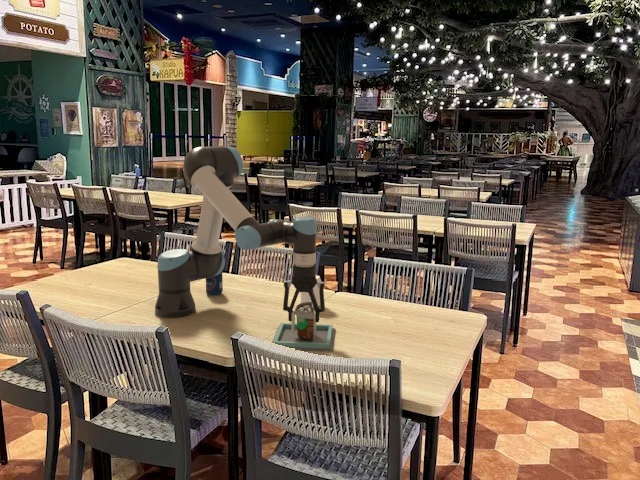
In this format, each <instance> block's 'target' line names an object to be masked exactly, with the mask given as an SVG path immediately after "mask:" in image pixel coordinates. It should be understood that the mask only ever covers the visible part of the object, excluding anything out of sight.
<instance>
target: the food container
mask: <svg viewBox="0 0 640 480" xmlns="http://www.w3.org/2000/svg"><path fill="white" fill-rule="evenodd" d="M294 311H295V316H296V323H297V334H298V337H299V338H301V339H304V340H313V329H314V308H312V302H304V303H301V302H300V303H299V304H297V305H296V306H295V309H294Z"/></svg>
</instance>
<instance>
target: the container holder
mask: <svg viewBox="0 0 640 480" xmlns="http://www.w3.org/2000/svg"><path fill="white" fill-rule="evenodd" d="M333 325H334V324H325V323H324V324H323V323H322V324H319V323H316V332H315V333H313V340H304V339H301V338H299V337H298V334H297V322H295V330H294V332H292V322H280V323H279V325H278V327H277V329H276V331H275V334H274V336H273V338H272V342H271V343H275V344H278V345H282V346H285V347H289V348H295V349H301V350H300V351H308V350H313V351H315V352H333V345H334V337H335V332H336V328H335V327H333ZM313 351H312V352H313Z"/></svg>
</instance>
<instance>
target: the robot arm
mask: <svg viewBox="0 0 640 480" xmlns="http://www.w3.org/2000/svg"><path fill="white" fill-rule="evenodd" d="M243 161H244V160H243V158H242V155H241V153H240V152H239V150H238V149H236V148H235V147H233V146H225V145H221V146H220V145H218V146H214V145H213V146H198V147H194V148H193V149H191V150H190V151H188V153H186V155H185V157H184V159H183V165H182V169H183V174H184V175H185V176H184V177H185V178H186V179H187V182H189V184H190V185H191V186H192V187H193V188H194V189H199V191H200V192H201V193H202V194H203V197H202V203H201V210H200V214H199V215H200V216H199V221H198V226H197V227H198V228H197V233H196V239H195V240H194V241H193V242H192V243H191V245H190V251H189V250H188V249H184V248H177V249H169V250H166V251H163V252H161V253H160V254H159V255H158V257H157V266H156V268H157V276H158V277H157V278H158V279H157V281H158V294H157V299H156V302H155V305H154V312H155V315H156V316H159V317H162V318H181V317H185V316H190V315H192V314H193V313H195V312H196V302H195V299H194V297H193V295H192V293H191V282H195V281H199V280H204V279H205V280H206V278H211V277H213V276H216V275H218V274H220V273H221V272H222V273H223V270H224V268H225V266H226V265H225V264H226V258H225V253H224V251H223V250H222V247H221V245H220V244H219V242H220V237H221V231H222V226H223V225H222V224H223V219H224V220H225V221H226V222H227V223H228V224H229V226H230V227H231V228H232V229H233V230H234V232H235V233H234V234H235V235H234V239H235V241H236V245H237V246H238V248H239V249H241V250H244V251H247V250H257V249H259V248H263V247H268V246H273V245H279V244H287V245H291V246H292V263H293V265H292V279H291V280H290V279H289V280H284V282H283V287H284V294H283V295H284V296H283V305H282V310H283V311H285V312H287V313H288V319H287V320H288V322H291V323H292V332H294V330H295V323H296V317H295V316H296V315H295V310H293V309H294V307H295V305H296V301H297V299H298V295H299V294H300V293H301V292H308V293H309V295H310V298H311V301H312V304H313V307H314V308H313V313H314V329H313V333H315V332H316V324H317V323H319V322H320V314H321V313H324V312H325V309H326V307H325V306H326V305H325V294H324V288H325V284H326V283H325V281H321V282H319V281H317V279H316V275H317V274H316V273H317V266H316V264H317V233H318V230H317V221H316V219H315V218H313V217H310V216H308V217H306V216H299V217H295V218H293V221H290V220H284V219H281V218H279V219H276V218H274V219H269V221H267V222H263V223H260V222H258V220H257V219H255V217H254V216H253V215H252V213H250V212H249V211H248V209H247V208H246V207H245V206H244V205H243V204H242V202H241V201H240V200H239V199H238V198H237V197H236V196H235V195H234V194H233V192H232V191H231V190H230V188H232V187H233V186H234V184H235V183H234V182H235V179H237V178H239V176H241V175H242V173H243V171H244V162H243ZM315 285H318V288H319V294H320V306H318V303H317V301H316V298H315V295H314V291H313V288H314V286H315ZM291 286H293V287H294V289H295V292H294V294H293V297H292V300H291V303H290V305H289V296H290V287H291Z"/></svg>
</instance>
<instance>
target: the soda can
mask: <svg viewBox="0 0 640 480" xmlns="http://www.w3.org/2000/svg"><path fill="white" fill-rule="evenodd" d="M223 288H224V286H223V271H222V272H221V273H220V274H218V275H216V276H213V277H211V278H205V291H206V292H205V293H206V294H207V295H208V296H209V297H218V296H221V295H222V293H223V290H224V289H223Z"/></svg>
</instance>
